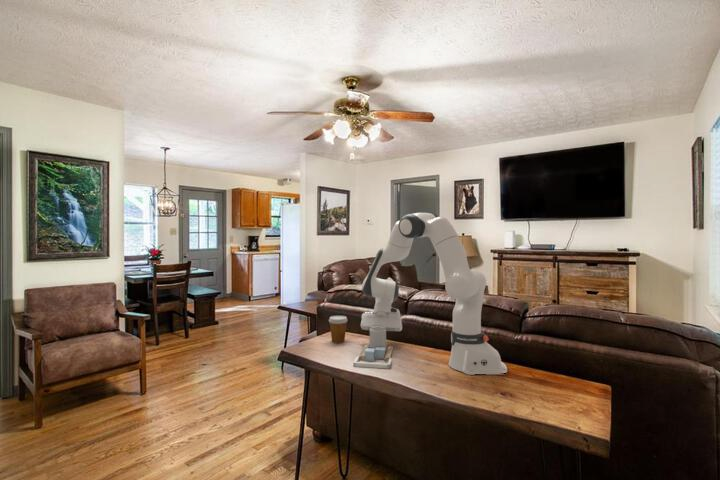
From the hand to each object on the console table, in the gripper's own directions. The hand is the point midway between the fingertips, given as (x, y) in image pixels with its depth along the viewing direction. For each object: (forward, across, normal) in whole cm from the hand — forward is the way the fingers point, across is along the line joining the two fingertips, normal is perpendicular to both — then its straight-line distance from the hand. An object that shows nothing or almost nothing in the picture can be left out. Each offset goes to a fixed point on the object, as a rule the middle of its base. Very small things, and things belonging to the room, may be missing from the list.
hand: (380, 337), depth 171 cm
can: (+8, 0, -1) cm, 8 cm away
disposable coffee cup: (-1, -22, +8) cm, 24 cm away
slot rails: (+10, 0, -4) cm, 11 cm away
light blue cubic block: (+15, -2, -8) cm, 17 cm away
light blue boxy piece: (+13, +2, -6) cm, 14 cm away
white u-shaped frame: (+19, 0, -12) cm, 22 cm away
